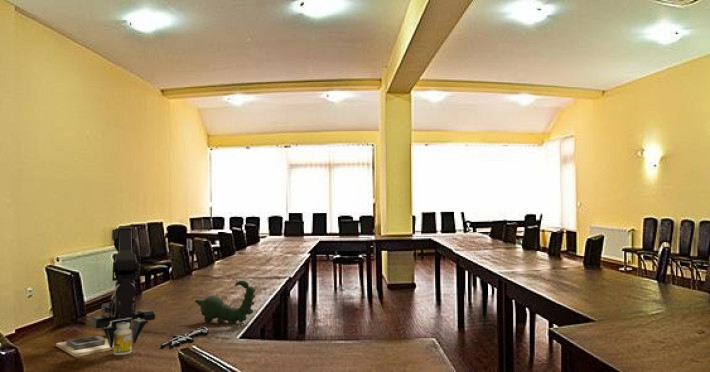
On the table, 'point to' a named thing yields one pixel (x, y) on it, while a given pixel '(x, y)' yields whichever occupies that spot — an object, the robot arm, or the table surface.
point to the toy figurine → (227, 307)
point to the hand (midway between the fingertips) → (122, 345)
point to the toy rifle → (185, 338)
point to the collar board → (85, 345)
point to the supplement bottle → (122, 339)
